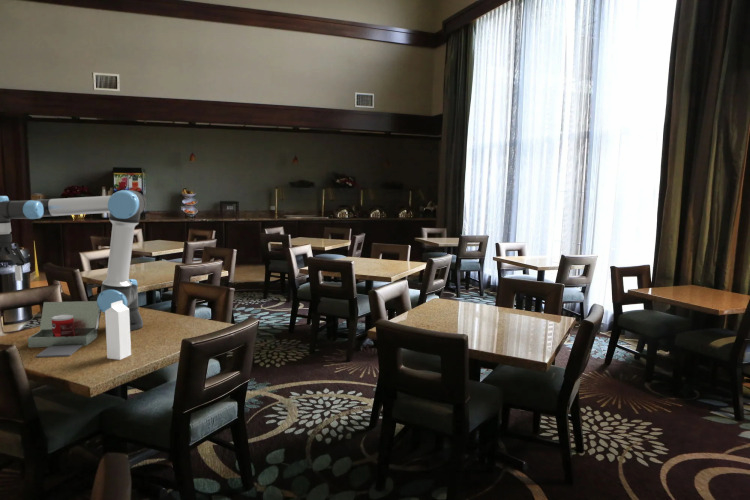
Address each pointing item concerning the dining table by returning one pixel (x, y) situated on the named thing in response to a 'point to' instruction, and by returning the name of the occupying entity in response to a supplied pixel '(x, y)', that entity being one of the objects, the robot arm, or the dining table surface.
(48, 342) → the case
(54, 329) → the canned food
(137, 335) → the dining table surface
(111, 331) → the milk
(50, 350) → the pad
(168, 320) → the dining table surface
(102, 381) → the dining table surface
